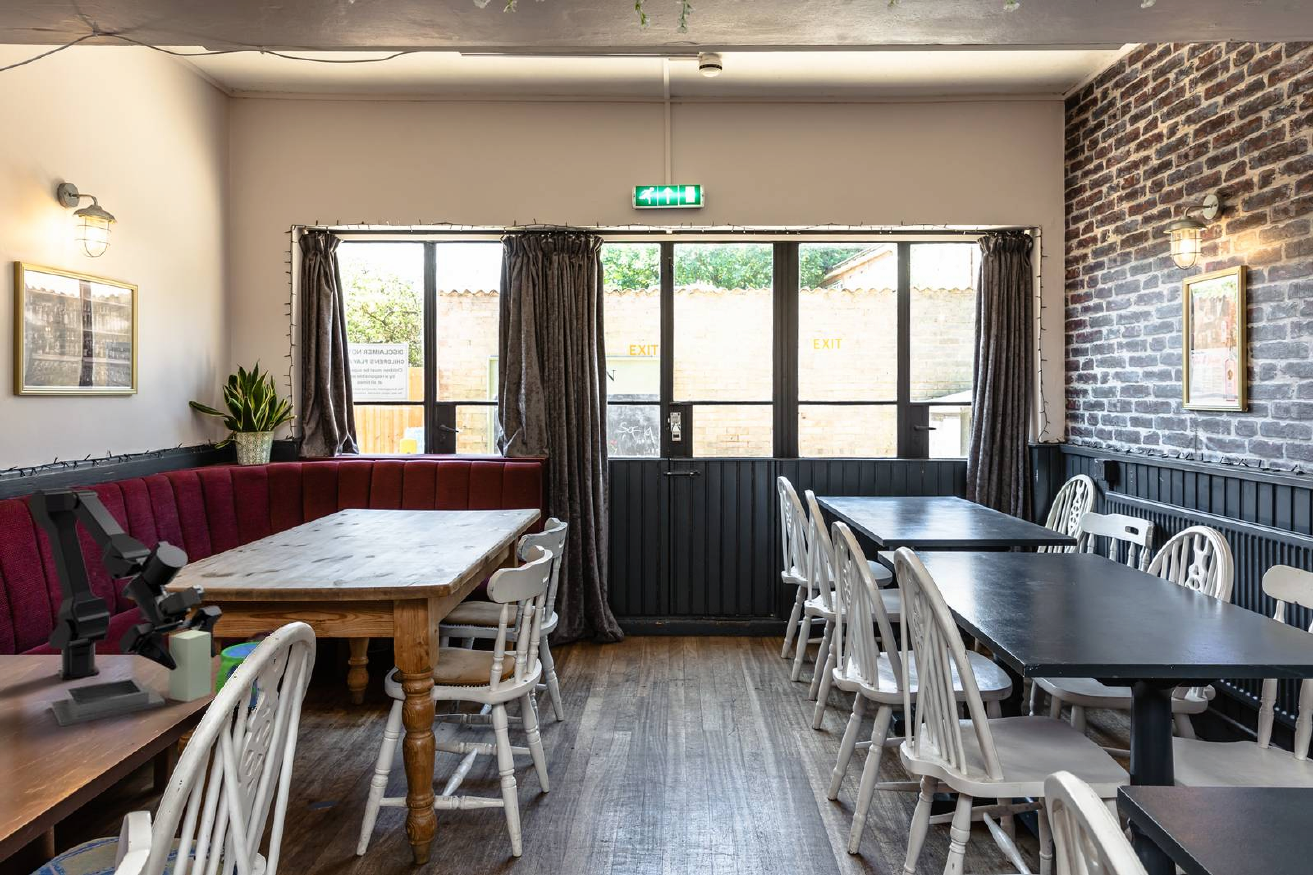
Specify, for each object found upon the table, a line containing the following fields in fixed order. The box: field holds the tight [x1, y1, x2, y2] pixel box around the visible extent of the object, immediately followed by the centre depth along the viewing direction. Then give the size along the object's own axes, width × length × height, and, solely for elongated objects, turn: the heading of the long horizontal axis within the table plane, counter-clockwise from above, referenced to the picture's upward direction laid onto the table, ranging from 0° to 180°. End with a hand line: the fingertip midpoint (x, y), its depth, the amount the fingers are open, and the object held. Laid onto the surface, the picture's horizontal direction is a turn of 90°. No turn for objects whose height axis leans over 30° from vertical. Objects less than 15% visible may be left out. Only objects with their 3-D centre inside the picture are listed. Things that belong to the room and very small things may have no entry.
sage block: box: [168, 630, 212, 703], centre depth 164 cm, size 5×5×12 cm
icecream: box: [245, 628, 276, 643], centre depth 187 cm, size 7×7×15 cm
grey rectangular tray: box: [50, 677, 166, 727], centre depth 158 cm, size 12×16×3 cm
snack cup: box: [215, 642, 261, 708], centre depth 161 cm, size 16×10×10 cm
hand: (195, 662), depth 163 cm, fingers open, 8 cm apart
